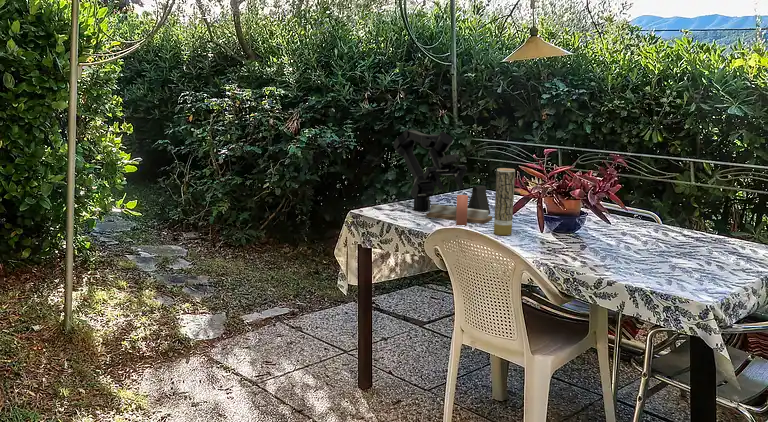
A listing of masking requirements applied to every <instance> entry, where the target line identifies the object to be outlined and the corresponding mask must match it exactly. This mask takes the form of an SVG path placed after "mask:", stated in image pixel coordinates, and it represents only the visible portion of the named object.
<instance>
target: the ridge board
mask: <svg viewBox="0 0 768 422" xmlns="http://www.w3.org/2000/svg"><path fill="white" fill-rule="evenodd" d="M430 208H431V209H430V211H429V212H426V214H425V217H426V218H432V219H439V220H448V221H455V222H456V211H457V206H452V205H451V206H450V205H444V204H435V203H434V204H430ZM488 213H489V211H488V210H479V209H470V208H468V210H467V223H472V224H480V225H485V224H487V223H488V222H490V221H492V220H493V216H492V215H489V214H488Z"/></svg>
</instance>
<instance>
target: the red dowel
mask: <svg viewBox="0 0 768 422" xmlns="http://www.w3.org/2000/svg"><path fill="white" fill-rule="evenodd" d="M468 204H469V195H467V194H458V195H456V207H457V211H456V221H455V225H456V226H457V225H465V226H467V225H468V222H467V210H468ZM465 226H464V227H465Z"/></svg>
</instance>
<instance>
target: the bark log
mask: <svg viewBox="0 0 768 422" xmlns="http://www.w3.org/2000/svg"><path fill="white" fill-rule="evenodd" d="M495 178H496V179H495V199H494V201H495V203H494V221H493V233H494V235H498V236H504V237H505V236H511V235H512V233H513V232H512V231H513V220H514V219H513V218H514V217H513V216H514V215H513V214H514V198H515V181H516V179H515V178H516V169H514V168H509V167H508V168H506V167H499V168H496V177H495Z"/></svg>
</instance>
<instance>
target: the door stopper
mask: <svg viewBox="0 0 768 422" xmlns="http://www.w3.org/2000/svg"><path fill="white" fill-rule="evenodd" d="M468 208H470V209H479V210H488V211H489V213H488V215H489V214H491V210H490V205H489V200H488V195H487V187H486V185H477V186H473V187H472V189H471V196H470V199H469V200H468Z"/></svg>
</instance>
